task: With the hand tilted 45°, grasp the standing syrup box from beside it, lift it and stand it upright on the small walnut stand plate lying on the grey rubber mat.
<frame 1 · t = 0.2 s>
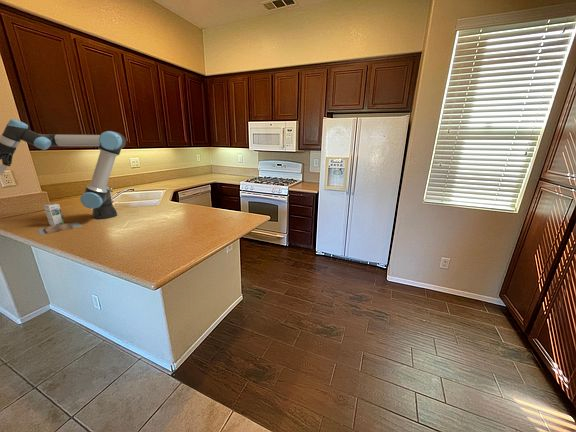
stand: (58, 228, 152), resting on mat
mat: (60, 228, 154), on the table
syrup box: (57, 225, 161), on the table
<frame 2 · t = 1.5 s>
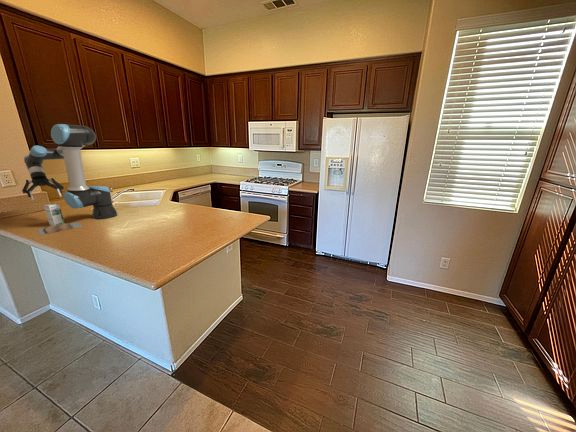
hand: (47, 198, 162), 17 cm above the table, tool tilted 45°, fingers open, 13 cm apart
nothing on the table moved.
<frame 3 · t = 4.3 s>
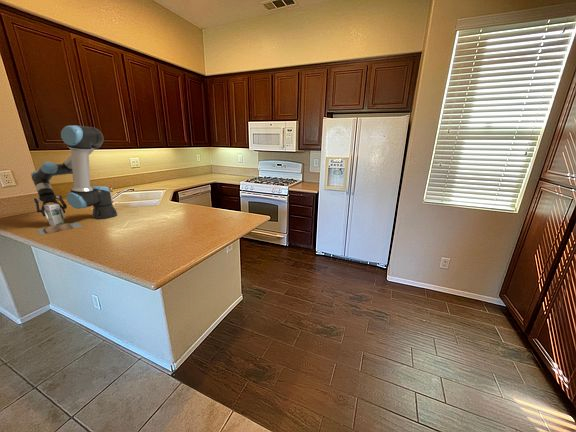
hand: (56, 218, 157), 6 cm above the table, tool tilted 45°, fingers closed on syrup box, 7 cm apart
syrup box: (57, 225, 161), on the table, touching gripper
when the fingers open (8 cm above the table, at t = 8.7 s): syrup box drops 1 cm, resting on stand.
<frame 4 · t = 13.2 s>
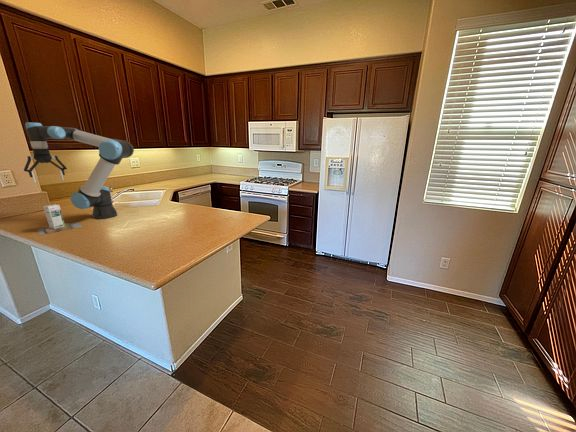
hand: (49, 181, 159), 29 cm above the table, tool pointing down, fingers open, 13 cm apart
syrup box: (57, 227, 152), point 1 cm above the table, touching stand
at the end: syrup box 0.4 cm from the stand (horizontally); syrup box tilted 0°; the gripper is holding nothing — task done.
